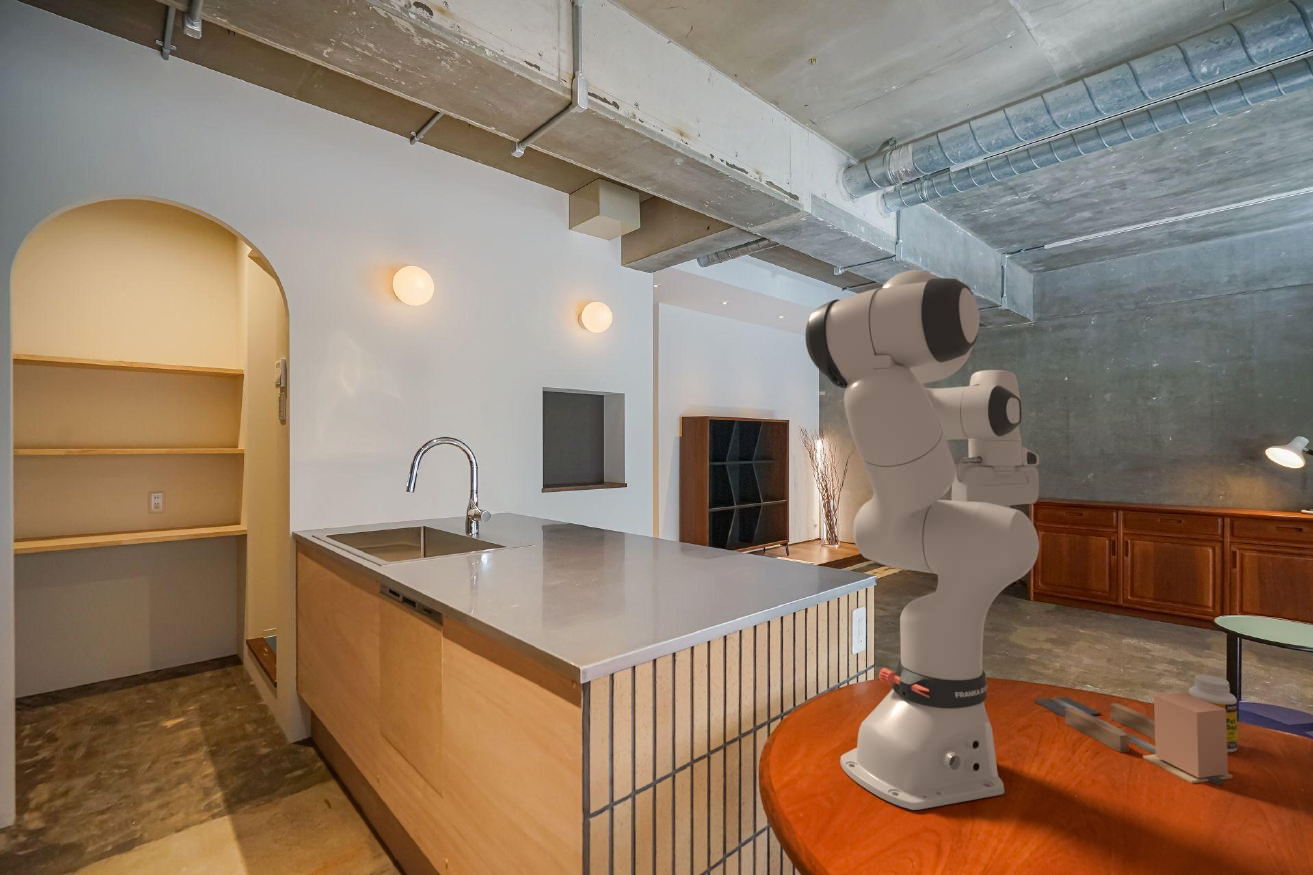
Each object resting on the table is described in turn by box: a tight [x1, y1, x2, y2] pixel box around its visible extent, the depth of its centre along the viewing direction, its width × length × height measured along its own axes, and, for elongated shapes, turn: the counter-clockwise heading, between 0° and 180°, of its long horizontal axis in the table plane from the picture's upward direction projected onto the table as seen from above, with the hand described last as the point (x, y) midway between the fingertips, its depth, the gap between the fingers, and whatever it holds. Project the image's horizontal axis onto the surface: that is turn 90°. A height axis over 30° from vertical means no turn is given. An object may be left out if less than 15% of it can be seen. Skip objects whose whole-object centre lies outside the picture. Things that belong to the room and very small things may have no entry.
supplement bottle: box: [1188, 674, 1239, 753], centre depth 94 cm, size 6×6×10 cm
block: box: [1153, 692, 1229, 778], centre depth 87 cm, size 6×5×9 cm
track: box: [1049, 697, 1225, 786], centre depth 97 cm, size 28×10×2 cm, turn 10°
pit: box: [1033, 696, 1102, 718], centre depth 108 cm, size 7×7×1 cm
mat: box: [1142, 753, 1234, 784], centre depth 88 cm, size 7×7×1 cm
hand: (996, 529), depth 114 cm, fingers closed
